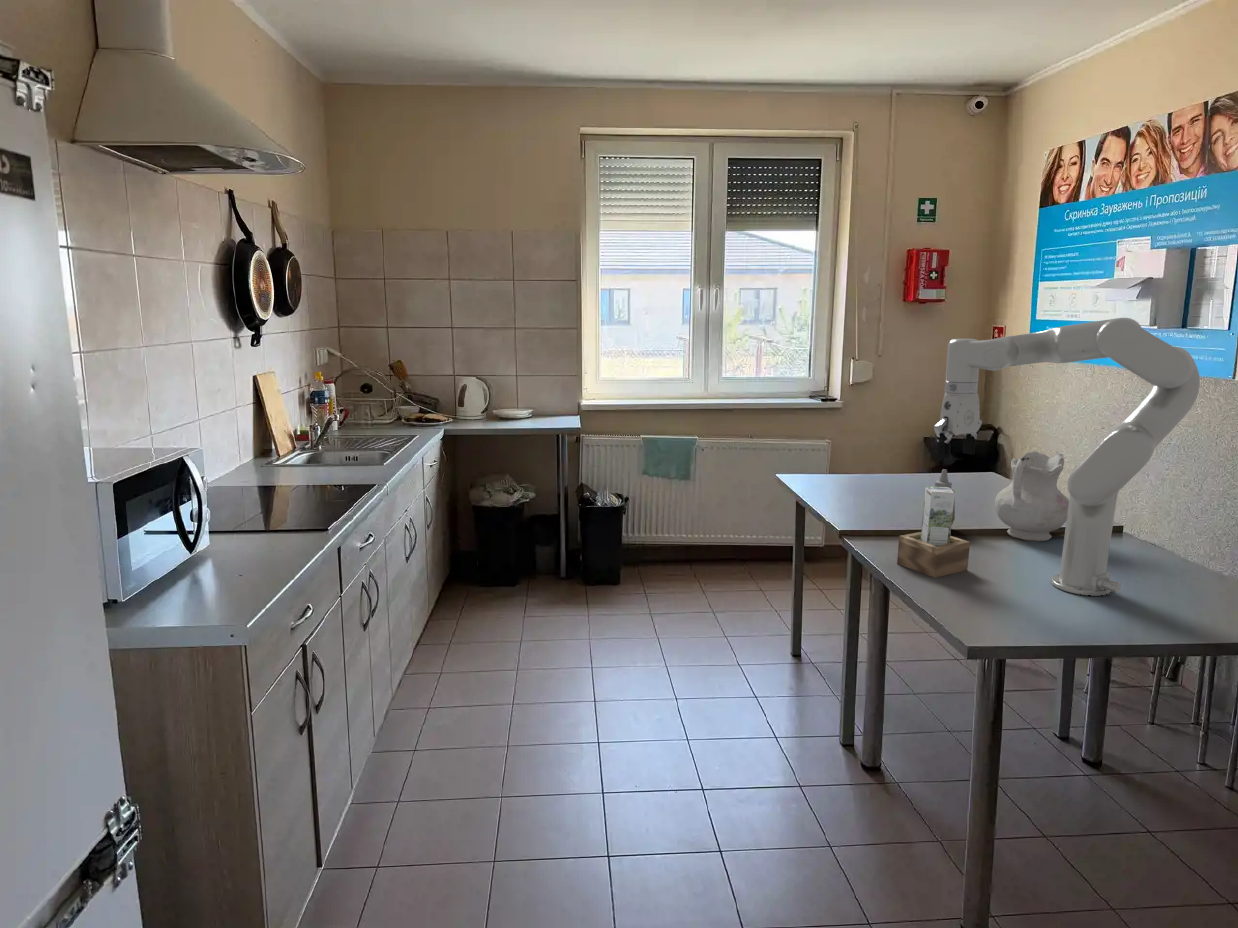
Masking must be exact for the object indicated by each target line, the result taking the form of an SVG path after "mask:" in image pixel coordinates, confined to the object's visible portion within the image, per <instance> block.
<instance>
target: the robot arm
mask: <svg viewBox="0 0 1238 928" xmlns="http://www.w3.org/2000/svg"><path fill="white" fill-rule="evenodd" d="M946 354H947V355H946V368H945V369H946V370H945V371H946V372H945V385H944V395H943V399H942V403H941V409H940V416H939V417H940V418H939V421H938V422H937V423H936V424H935V425H933V430H934V433H935V435H934V436H935V437H936V441H937V442H938V444H937V445H938V446H937V447H938V448H937V457H938V458H941V459H944V460H945V459H946V460H949V459H950V458H951V448H952V443H951V442H950V441H951V440H952V438H953V436H964V437H963V439H962V453H963V454H966V455H971V456H973V455H975V452H976V442H977V441H976V440H977V439H978V435H979V433H980V431H981V430H980V428H981V427H982V424H983V421H982V419H980V415H981V413H980V412H981V411H980V408H981V407H980V397H979V394H978V387H979V386H978V385H979V373H980V371H979V370H980V369H983V370H985V371H986V370H987V371H999V370H1000V371H1001V370H1002V369H1003V370H1004V369H1005V368H1009V367H1016V366H1024V365H1032V364H1040V363H1052V364H1067V363H1076V362H1083V361H1091V360H1098V359H1099V360H1100V359H1107V358H1109V359H1110V360H1112V361H1114V362H1115V363H1116V364H1118V365H1119V366H1122V367H1123V368H1125V369H1126V370H1128V371H1130V372H1131V373H1133V374H1134V375H1136V376H1138V377H1139V378H1141V379H1142V380H1144V381H1145V382H1147V383H1149V384H1150V385H1153V386H1152V388H1151V391H1150V392H1149V393H1148V394H1147V395H1146V396H1145V398H1144V399H1143V400H1142V401H1141V402H1140V403H1139V404H1138V406H1137V407H1136V408H1135V409H1134V410H1133V411H1132V412H1131V413H1130V414H1129V415H1127V417H1125V419H1123V421H1122V422H1120V423H1119V424H1118V425H1117V426H1115V427H1114V428H1113V429H1111V430H1110V431H1109V433H1108V434H1107V435H1106V437H1104V439H1103V440H1102V441H1101V442H1100V443H1099V444H1098V445H1097V446H1096V447H1095V449H1093V451H1092V452H1091V453H1090V454H1089V455H1088V456H1087V457H1086V458H1085V459H1083V460H1081V461H1080V462H1079V463H1077V465H1076V466H1075V467H1074V468H1073V470H1072V471H1071V473H1070V475H1069V477H1068V479H1067V491H1068V494H1069V506H1068V513H1067V521H1066V522H1065V528H1064V529H1065V530H1064V538H1063V546H1062V551H1061V552H1062V554H1061V559H1060V570H1059V573H1058V574H1055V575H1053V576H1051V580H1050V582H1051V584H1052V585H1053V586H1054V587H1055V588H1057V589H1059V590H1062V591H1064V592H1067V593H1070V594H1071V593H1072V594H1075V595H1080V594H1081V595H1082V596H1088V595H1091V596H1090V597H1100V596H1101V595H1103V596H1107V595H1109V594H1111V593H1112V592H1113V593H1116V594H1117V593H1119V592H1120V590H1121V586H1122V585H1121V582H1119V581H1116V580H1112V579H1111V575H1112V574H1111V572H1107V570H1108V569H1107V568H1108V561H1109V553H1110V548H1111V540H1112V532H1113V526H1114V519H1115V512H1116V506H1117V501H1118V496H1119V495H1118V493H1119V491H1121V489H1123V488H1124V487H1125V486H1126V485H1127V483H1129V482H1130V481H1131V480H1132V479H1133V478H1134V477H1135V476H1136V475H1137V474H1138V473H1139V472H1140V471H1141V470H1142V469H1143V468H1144V467H1145V466H1146V465H1147V464H1148V463H1149V461H1150V460H1151V458H1152V457H1153V455H1154V451H1155V450H1156V448H1157V447H1158V445H1159V444H1161V442H1162V441H1163V440H1164V439H1165V438H1166V437H1167V436H1168V435H1169V434H1170V433H1171V432H1172V431H1173V430H1174V429H1175V428H1176V427H1177V426H1178V424H1179V423H1180V422H1181V421H1182V420H1184V418H1185V417H1186V416H1187V414H1188V413H1190V410H1191V409H1192V407H1193V406H1194V405H1195V402H1196V400H1197V398H1198V395H1199V391H1200V387H1201V386H1200V385H1201V379H1200V374H1199V373H1200V371H1199V369H1198V367H1197V364H1196V361H1195V359H1194V357H1193V356H1192V355H1191V354H1190V352H1189V351H1188V350H1186V349H1184V348H1182V347H1181V346H1175V345H1171V344H1169V343H1168V342H1166V341H1164V340H1162V339H1161V338H1159V337H1157V336H1156V335H1154V334H1152V333H1151V332H1149V331H1147V330H1146V329H1144V328H1143V327H1142V326H1141V325H1140V324H1139V322H1138V321H1137V320H1136V319H1133V318H1130V317H1117V318H1110V319H1104V320H1103V319H1102V320H1096V321H1090V322H1083V323H1077V324H1070V325H1063V326H1058V327H1053V328H1049V329H1047V330H1042V331H1037V332H1031V333H1023V334H1022V333H1021V334H1017V335H1009V336H1002V337H1001V336H1000V337H996V338H991V339H985V340H984V339H983V340H982V339H981V340H978V339H976V338H952V339H951V340H949V342H948V344H947V353H946ZM946 435H947V436H946ZM1110 592H1111V593H1110ZM1106 594H1107V595H1106ZM1081 595H1080V596H1081ZM1101 597H1102V596H1101Z"/></svg>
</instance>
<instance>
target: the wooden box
mask: <svg viewBox="0 0 1238 928" xmlns="http://www.w3.org/2000/svg"><path fill="white" fill-rule="evenodd" d="M970 547H971V541H969V540H965V539H962V538H959V537H956V536H952V535H950V542H949V544H945V545H940V546H934V545H931V544H928V543H925V542H923V541H921V531H918V532H913V533H912V532H911V533H908V534H907V533H906V534H904V535H903V534H902V535H899V536H898V548H897V558H896V559H897V560H896V564H897V565H900V566H902V567H905V568H908V569H910V570H912V571H916V572H918V573H921V574H924V575H926V576H928V577H931V578H940V577H944V576H948V575H952V574H957V573H961V572H966V571H968V568H969V567H968V566H969V556H970Z"/></svg>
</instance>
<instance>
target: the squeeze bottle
mask: <svg viewBox="0 0 1238 928" xmlns="http://www.w3.org/2000/svg"><path fill="white" fill-rule="evenodd" d="M952 485H953V482H951V481H950V480H949V476H948V470H947V469H944V468H943V469H942V470H941V473H940V476H939V479H937V480H935V482H934V487H948V488H950V489H951V490H952V491H953V492H954V493H955V490H954V489H952ZM955 502H956V501H955V497H954V506H953V515H952V524H951V527H952V526H953V523H954V521H955V518H956V515H955V513H956V511H955V509H956V508H955V507H956V505H955Z"/></svg>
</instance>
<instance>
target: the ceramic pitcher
mask: <svg viewBox="0 0 1238 928" xmlns="http://www.w3.org/2000/svg"><path fill="white" fill-rule="evenodd" d="M1065 458H1066V457H1065V456H1064V454H1062V453H1059V452H1056V453H1055V456H1053V457H1049V456H1048V455H1046V454H1045V453H1041V452H1039V451H1035V450H1033V451H1030V452H1027V453H1026V454H1024V455H1023V456H1022V457H1020V458H1019V459H1018V458H1014V457H1012V459H1011V460H1010V461H1011V462H1010V468H1011V472H1012V482H1010V484H1009V485H1008V486H1007V487H1004V488H1003V489H1002V490H1000V491H999V492H998V493H997V495H996V496H995V499H994V508H995V512H996V515H997V517H998V518H999V520H1000V521H1001V522H1002V523H1003V524H1004V525H1006V526H1008V527H1010V528H1009V529H1008V530H1006V532H1007V534H1008V535H1009V536H1011V537H1012V538H1016V539H1019V540H1023V541H1038V542H1046V541H1049V540H1050V539H1052V537H1053V535H1052V534H1050V532H1053V531H1056V530H1058V529H1060V528H1061V527H1063V526H1064V524H1066V521H1067V513H1068V506H1069V500H1070V498H1068V497H1067V496H1066V495H1065V494H1064V493H1063V492H1061V491H1060V489H1058V486H1057V484H1058V480H1059V477H1060V475H1061V473H1062V472H1063V470H1064V465H1065Z"/></svg>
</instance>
